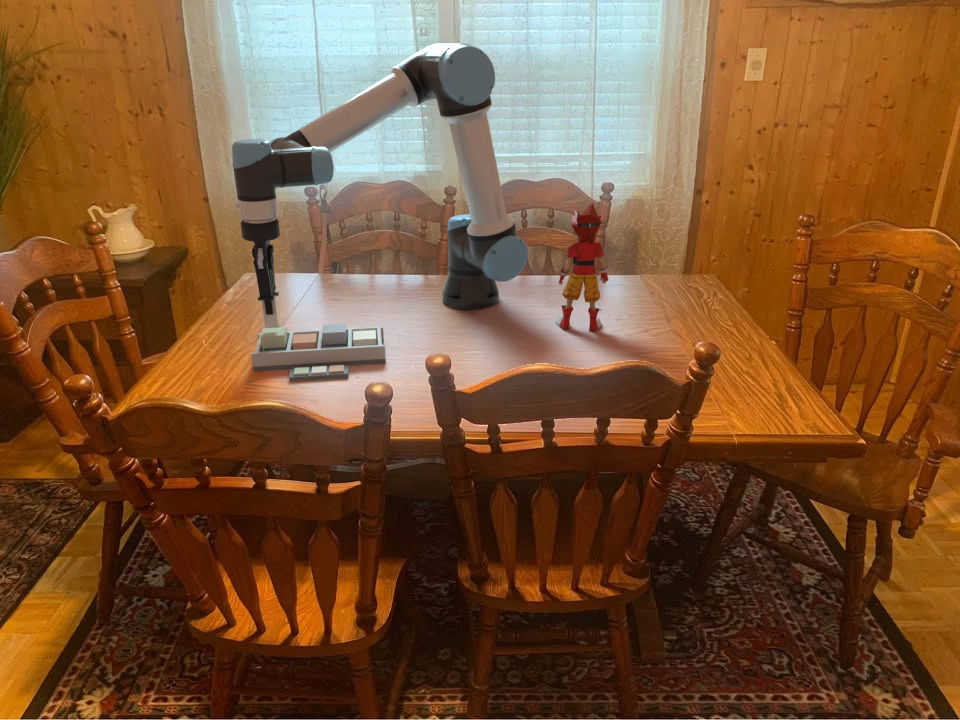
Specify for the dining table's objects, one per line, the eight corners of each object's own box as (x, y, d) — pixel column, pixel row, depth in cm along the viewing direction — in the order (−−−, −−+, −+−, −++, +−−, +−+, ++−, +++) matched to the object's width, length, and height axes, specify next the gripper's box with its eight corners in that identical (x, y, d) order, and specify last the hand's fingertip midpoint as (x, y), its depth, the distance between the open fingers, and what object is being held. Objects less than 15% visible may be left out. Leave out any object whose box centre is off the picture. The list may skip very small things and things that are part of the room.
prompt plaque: (348, 369, 158) (348, 363, 157) (348, 377, 154) (347, 371, 153) (291, 372, 156) (290, 366, 155) (289, 381, 152) (289, 375, 151)
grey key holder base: (383, 341, 171) (382, 326, 170) (385, 363, 160) (384, 346, 159) (260, 349, 167) (258, 332, 166) (253, 371, 157) (251, 354, 155)
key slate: (346, 335, 165) (345, 323, 164) (346, 343, 161) (345, 331, 160) (324, 336, 165) (323, 324, 164) (323, 345, 160) (322, 333, 159)
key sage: (287, 338, 164) (286, 326, 162) (285, 347, 159) (284, 335, 158) (264, 339, 163) (262, 327, 162) (261, 348, 158) (260, 336, 157)
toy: (599, 318, 185) (608, 199, 173) (608, 332, 177) (618, 208, 164) (552, 319, 184) (558, 200, 172) (559, 333, 176) (565, 209, 164)
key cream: (376, 341, 167) (375, 330, 166) (376, 350, 163) (376, 338, 161) (354, 342, 166) (353, 331, 165) (353, 351, 162) (353, 339, 161)
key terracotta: (318, 344, 165) (316, 333, 164) (317, 353, 161) (315, 341, 160) (295, 346, 165) (294, 334, 163) (293, 355, 160) (292, 343, 159)
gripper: (244, 212, 155) (257, 316, 165) (235, 227, 143) (250, 339, 153) (281, 211, 156) (292, 315, 166) (275, 226, 144) (287, 337, 154)
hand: (271, 326), depth 159 cm, fingers closed
